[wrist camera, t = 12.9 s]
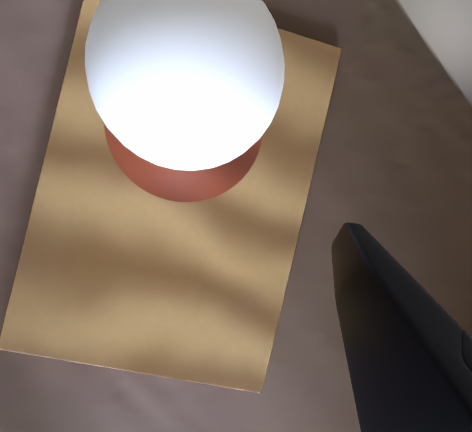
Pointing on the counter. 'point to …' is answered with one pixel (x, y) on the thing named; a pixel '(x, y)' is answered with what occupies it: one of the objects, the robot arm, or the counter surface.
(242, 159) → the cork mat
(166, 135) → the lightbulb
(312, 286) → the counter surface
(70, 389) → the counter surface
